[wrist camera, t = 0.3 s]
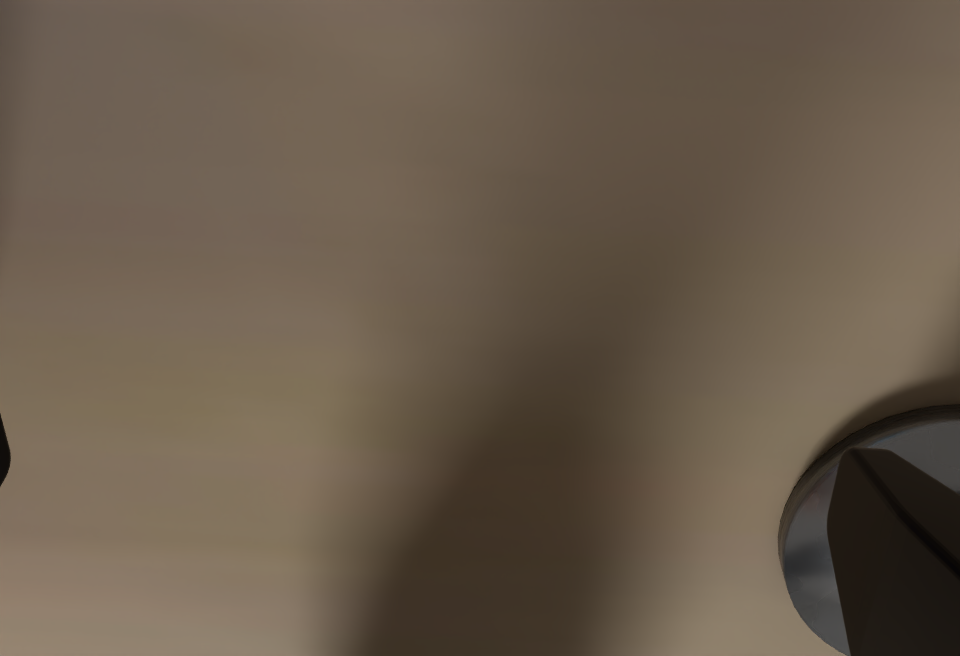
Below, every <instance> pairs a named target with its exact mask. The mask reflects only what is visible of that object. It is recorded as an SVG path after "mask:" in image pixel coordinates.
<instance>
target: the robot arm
mask: <svg viewBox="0 0 960 656" xmlns="http://www.w3.org/2000/svg"><path fill="white" fill-rule="evenodd" d="M10 461H11V456H10V449H9V445H8V441H7V437H6V433H5V430H4V426H3V422H2V418H1V414H0V486H1V485H2V483H3V481H4V479H5V478H6V476H7V473H8V470H9V467H10ZM827 537H828V543H829V548H830V553H831V558H832V563H833V569H834V574H835V579H836V584H837V589H838V594H839V600H840V605H841V610H842V615H843V620H844V625H845V630H846V636H847V641H848V646H849V651H850V655H851V656H960V494H958V493H956V492H955V491H953V490H952V489H950V488H949V487H947V486H945V485H944V484H942V483H941V482H939V481H938V480H936V479H935V478H933V477H931V476H930V475H928V474H927V473H925V472H924V471H922V470H921V469H919V468H917V467H916V466H914V465H913V464H911V463H910V462H908V461H907V460H905V459H903V458H902V457H900V456H899V455H897V454H896V453H894V452H892V451H891V450H887V449H881V448H865V447H849V448H848V449H846V450H845V451H844V452H843V454H842V456H841V458H840V462H839V466H838V470H837V474H836V479H835V483H834V488H833V492H832V496H831V501H830V505H829V510H828V515H827Z"/></svg>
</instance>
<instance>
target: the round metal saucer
mask: <svg viewBox="0 0 960 656" xmlns="http://www.w3.org/2000/svg"><path fill="white" fill-rule="evenodd" d="M849 447H865V448H881V449H887V450H891V451H892V452H894V453H896V454H897V455H899V456H900V457H902V458H903V459H905V460H907V461H908V462H910V463H911V464H913V465H914V466H916V467H917V468H919V469H921V470H922V471H924V472H925V473H927V474H928V475H930V476H931V477H933V478H935V479H936V480H938V481H939V482H941V483H942V484H944V485H945V486H947V487H949V488H950V489H952V490H953V491H955V492H956V493H958V494H960V405H947V406H935V407H929V408H924V409H918V410H913V411H909V412H905V413H902V414H899V415H895V416H892V417H889V418H886V419H884V420H881V421H879V422H876V423H874V424H871V425H869V426H867V427H865V428H863V429H861V430H859V431H858V432H856V433H854V434H852V435H850V436H848V437H847V438H845V439H844V440H842V441H841V442H840V443H838V444H837V445H835V446H834V447H832V448H831V449H830V450H829V451H827V452H826V453H825V454H824V455H823V456H822V457H821V458H819V459H818V460H817V461H816V462H815V463H814V464H813V465H812V466H811V468H810V469H809V470H808V471H807V472H806V473H805V474H804V475H803V477H802V478H801V479H800V481H799V482H798V484H797V485H796V487H795V488H794V490H793V491H792V493H791V495H790V497H789V499H788V501H787V504H786V506H785V508H784V511H783V515H782V518H781V521H780V526H779V534H778V554H779V559H780V563H781V568H782V572H783V575H784V579H785V582H786V586H787V589H788V592H789V595H790V597H791V600H792V602H793V605H794V607H795V608H796V610H797V612H798V613H799V615H800V616H801V618H802V619H803V621H804V622H805V623H806V624H807V625H808V627H809V628H810V629H811V630H812V631H813V632H814V633H815V634H816V635H817V636H819V637H820V638H821V639H822V640H823V641H824V642H826V643H827V644H829V645H830V646H832V647H833V648H835V649H836V650H838V651H839V652H841V653H843V654H845V655H847V656H851V655H850V651H849V646H848V641H847V636H846V630H845V625H844V620H843V615H842V610H841V605H840V600H839V594H838V589H837V584H836V579H835V574H834V569H833V563H832V558H831V553H830V548H829V543H828V537H827V515H828V510H829V505H830V501H831V496H832V492H833V488H834V483H835V479H836V474H837V470H838V466H839V462H840V458H841V456H842V454H843V452H844V451H845V450H846V449H848V448H849Z"/></svg>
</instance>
